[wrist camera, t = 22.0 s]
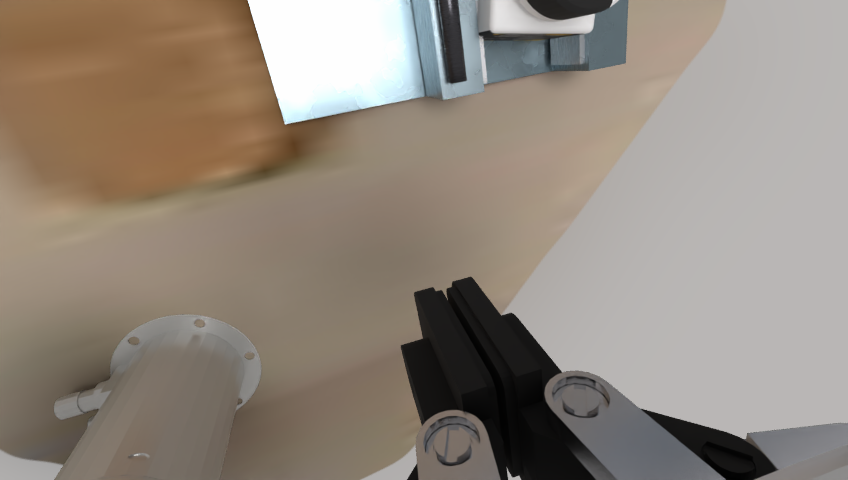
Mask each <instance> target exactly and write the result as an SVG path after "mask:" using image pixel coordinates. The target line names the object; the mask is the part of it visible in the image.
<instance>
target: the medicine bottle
mask: <svg viewBox="0 0 848 480" xmlns="http://www.w3.org/2000/svg"><path fill="white" fill-rule="evenodd" d="M618 1H619V0H478V5H477V20H478V31H479V35H480V36H483V41H537V40H545V39H552V38H559V37H566V36H574V35H581V34H587V33H590V32H591V31H592V30H593V27H594V19H595V14H596V13H599V12H602V11H604V10H606V9H608V8H610V7H611V6H613V5H614V4H615V3H617V2H618Z"/></svg>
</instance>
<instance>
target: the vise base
mask: <svg viewBox="0 0 848 480" xmlns="http://www.w3.org/2000/svg"><path fill="white" fill-rule="evenodd" d="M248 3H249V6H250V9H251V12H252V16H253V19H254V22H255V26H256V29H257V32H258V36H259V39H260V42H261V46H262V49H263V52H264V56H265V59H266V62H267V65H268V69H269V72H270V75H271V79H272V82H273V85H274V89H275V92H276V95H277V99H278V102H279V105H280V109H281V112H282V115H283V119H284V122H285V124H289V123H294V122H299V121H304V120H309V119H314V118H319V117H324V116H329V115H334V114H339V113H344V112H349V111H354V110H359V109H364V108H369V107H374V106H379V105H384V104H389V103H394V102H399V101H404V100H409V99H414V98H419V97H424V96H426V89H425V83H424V76H423V70H422V63H421V57H420V50H419V44H418V37H417V31H416V24H415V18H414V11H413V5H412V0H248ZM627 18H628V0H619V1H618V2H617V3H615V4H614V5H613V6H611V7H610V8H608V9H606V10H604V11H602V12H599V13H596V14H595V19H594V27H593V30H592V31H591V32H590V33H587V34H581V35H574V36H566V37H559V38H552V39H545V40H537V41H484V51H485V62H486V73H487V83H484V84H489V83H494V82H499V81H504V80H509V79H514V78H519V77H524V76H529V75H534V74H539V73H544V72H549V71H590V70H595V69H600V68H605V67H610V66H615V65H620V64H624V63H626V42H627Z"/></svg>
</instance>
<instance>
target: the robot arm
mask: <svg viewBox="0 0 848 480" xmlns="http://www.w3.org/2000/svg"><path fill="white" fill-rule="evenodd" d="M414 296H415V302H416V306H417V311H418V316H419V321H420V326H421V331H422V335H423V339H421V340H417V341H414V342H411V343H407V344H404V345H401V350H402V354H403V358H404V362H405V367H406V371H407V375H408V378H409V382H410V386H411V390H412V393H413V397H414V400H415V403H416V407H417V410H418V413H419V417H420V420H421V423H422V427H421V428H420V430H419V432H418V435H417V438H416V456H417V464H416V466H415V468H414V469H413V471H412V473H411V474H410V476H409V477H408V479H407V480H508V477H507V468H508V471H509V472H510V474H511V476H512V477H516V476H520V478H521V480H848V423H834V424H826V425H816V426H808V427H799V428H790V429H781V430H772V431H763V432H754V433H747V437H746V439H742V438H740V437H738V436H735V435H732V434H730V433H727V432H724V431H720V430H716V429H713V428H709V427H705V426H702V425H698V424H694V423H691V422H687V421H684V420H680V419H676V418H672V417H669V416H665V415H662V414H658V413H655V412H651V411H647V410H643V409H640V408H638V407H637V406H636V405H635V404H633V403H632V402H631V401H630V400H629V399H628V398H626V397H625V396H624V395H623V394H621V393H620V392H619V391H618V390H617V389H615V388H614V387H613V386H612V385H610V384H609V383H608V382H607V381H605V380H604V379H602V378H601V377H599V376H597V375H594V374H591V373H589V372H583V371H566V372H563V373H562V372H561V370H560V369H559V368H558V367H557V366H556V364H555V363H554V362H553V361H552V359H551V358H550V357H549V356H548V355H547V353H546V352H545V351H544V350H543V349H542V347H541V346H540V345H539V344H538V342H537V341H536V340H535V339H534V338H533V336H532V335H531V334H530V333H529V331H528V330H527V329H526V328H525V326H524V325H523V324H522V323H521V322H520V320H519V319H518V318H517V317H516V316H515V315H514V314H512V313H509V314H506V315H502V316H501V315H500V313H499V312H498V311H497V309H496V308H495V307H494V306H493V304H492V303H491V302H490V300H489V299H488V298H487V296H486V295H485V294H484V292H483V291H482V290H481V288H480V287H479V286H478V284H477V283H476V282H475V280H474V279H473V278H472V277H468V278H464V279H461V280H457V281H453V282H452V287H451V288H447V298H448V300H447V298H446V297H445V295H444V293H443V291H442V290H440V291H435V289H434V288H433V287H432V288H428V289H425V290H421V291H417V292H414ZM198 319H201V320H204V322H205V326H203V327H197V326H196V325H195V323H194V322H195V321H196V320H198ZM130 337H137V338H138V339H139V340H140V342H139V344H137V345H133V344H130V343H129V341H128V339H129V338H130ZM248 352H252V353H254V355H255V357H254V358H253V359H246V357H245V354H246V353H248ZM260 378H261V362H260V357H259V354H258V352H257V350H256V348H255V346H254V345H253V344H252V342H251V341H250V340H249V339H248V338H247V337H246V336H245V335H244V334H243V333H242V332H240V331H239V330H238V329H236V328H234V327H233V326H231V325H229V324H227V323H225V322H222V321H220V320H217V319H214V318H210V317H206V316H201V315H184V314H182V315H172V316H166V317H162V318H158V319H154V320H151V321H149V322H147V323H145V324H142V325H140V326H138V327H137V328H135V329H134V330H133V331H131V332H130V333H128V334H127V335H126V336H125V337H124V338H123V339H122V340H121V341H120V342H119V344H118V346H117V347H116V349H115V351H114V352H113V355H112V359H111V362H110V379H109V380H107V381H103V382H100V383H99V384H97V385H96V387H95V388H94V389H90V390H87V391H86V390H83V391H80V392H76V393H72V394H69V395H65V396H62V397H59V398H58V399H57V400H56V402H55V405H54V413H55V415H56V417H57V418H59V419H61V420H63V419H68V418H71V417H75V416H78V415H82V414H85V413H88V412H89V411H92V410H95V409H99V411H98V412H97V414H96V415H95V416H92V417H90V418H89V420H88V428H87V430H86V431H85V433H84V434H83V436H82V437H81V439H80V440H79V442H78V444H77V445H76V447H75V448H74V450H73V451H72V453H71V454H70V456H69V458H68V459H67V461H66V462H65V464H64V465H63V467H62V468H61V470H60V472H59V473H58V475H57V477H56V478H55V479H54V480H220V476H221V472H222V467H223V463H224V459H225V455H226V450H227V446H228V442H229V438H230V434H231V429H232V425H233V421H234V417H235V412H236V410H238V409H239V408H240V407H242V406H243V405H244V404H245V403H246V402H247V401H248V400H249V399H250V398H251V397H252V395H253V394H254V392H255V391H256V389H257V387H258V385H259V381H260ZM239 398H241V399H242V401H243V402H242V403H241V404H238V400H239ZM506 466H507V467H506Z"/></svg>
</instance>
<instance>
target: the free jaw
mask: <svg viewBox="0 0 848 480" xmlns="http://www.w3.org/2000/svg"><path fill="white" fill-rule="evenodd" d="M412 5H413V11H414V18H415V24H416V31H417V37H418V44H419V50H420V57H421V63H422V70H423V76H424V83H425V89H426V96H427V97H432V98H436V99H441V100H446V99H451V98H456V97H461V96H466V95H471V94H476V93H481V92H484V83H487V73H486V62H485V51H484V41H483V36H480V35H479V31H478V20H477V5H478V0H412Z"/></svg>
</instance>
